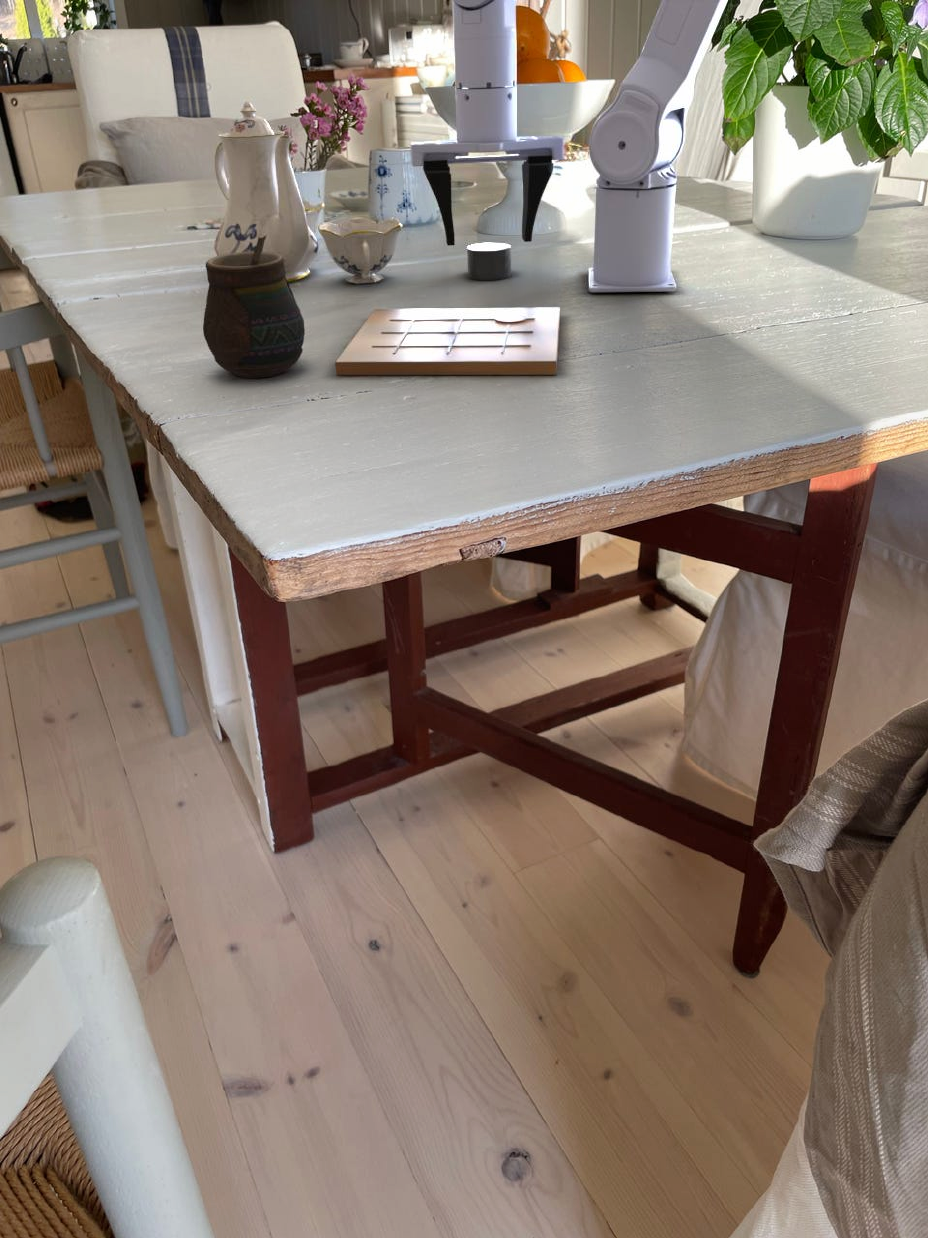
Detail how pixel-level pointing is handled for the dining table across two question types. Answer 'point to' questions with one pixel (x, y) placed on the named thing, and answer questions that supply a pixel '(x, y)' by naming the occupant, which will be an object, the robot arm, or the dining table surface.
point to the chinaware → (288, 208)
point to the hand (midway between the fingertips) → (488, 241)
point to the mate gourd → (252, 314)
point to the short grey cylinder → (489, 261)
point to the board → (455, 342)
